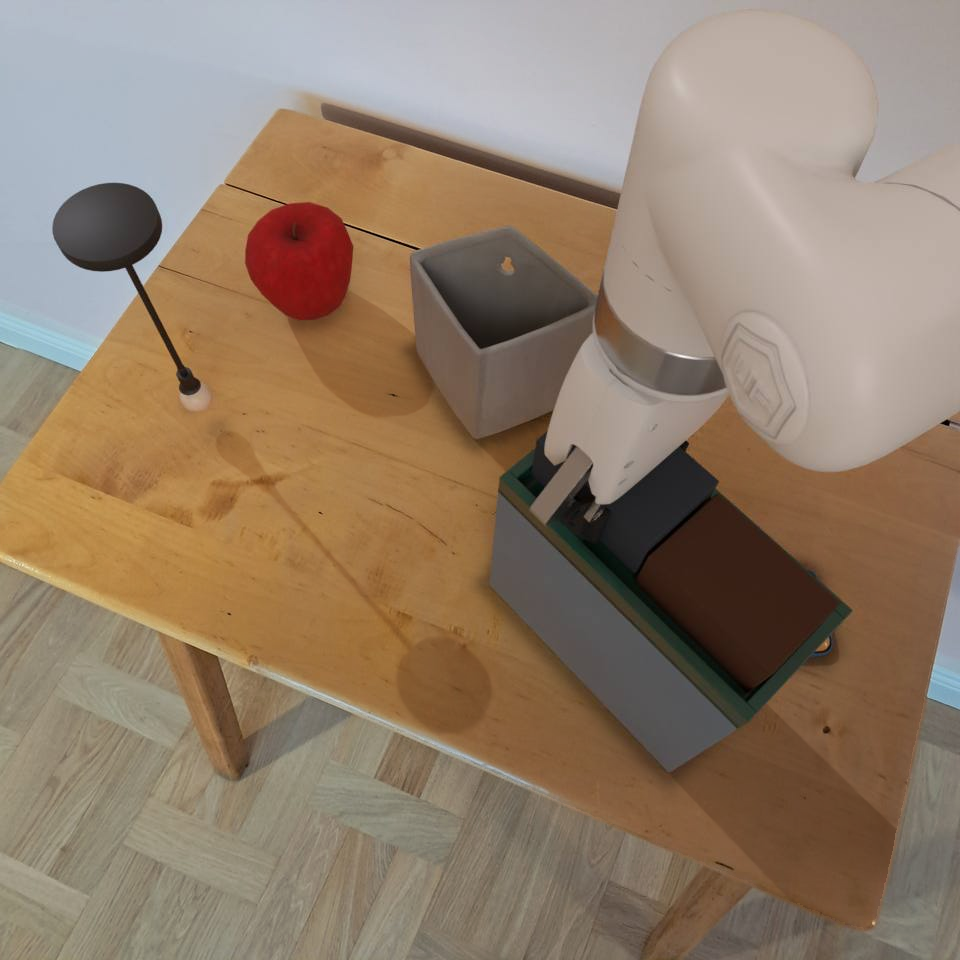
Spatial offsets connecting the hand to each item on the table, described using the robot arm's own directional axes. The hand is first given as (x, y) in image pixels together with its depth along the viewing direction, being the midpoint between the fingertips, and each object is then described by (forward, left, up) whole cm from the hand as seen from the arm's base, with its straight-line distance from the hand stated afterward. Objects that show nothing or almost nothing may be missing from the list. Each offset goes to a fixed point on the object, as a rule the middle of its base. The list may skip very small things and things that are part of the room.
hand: (616, 490), depth 54 cm
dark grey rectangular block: (0, 0, -1) cm, 1 cm away
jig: (-4, 0, -2) cm, 5 cm away
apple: (+39, -2, -20) cm, 44 cm away
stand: (-4, 0, -20) cm, 21 cm away
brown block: (-9, 0, -2) cm, 9 cm away
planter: (+19, -7, -20) cm, 28 cm away
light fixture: (+35, +13, -20) cm, 42 cm away
